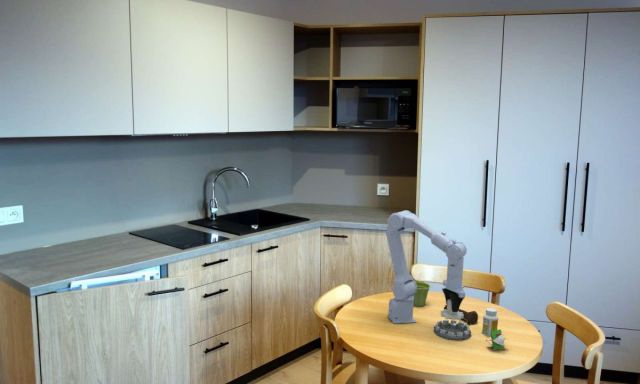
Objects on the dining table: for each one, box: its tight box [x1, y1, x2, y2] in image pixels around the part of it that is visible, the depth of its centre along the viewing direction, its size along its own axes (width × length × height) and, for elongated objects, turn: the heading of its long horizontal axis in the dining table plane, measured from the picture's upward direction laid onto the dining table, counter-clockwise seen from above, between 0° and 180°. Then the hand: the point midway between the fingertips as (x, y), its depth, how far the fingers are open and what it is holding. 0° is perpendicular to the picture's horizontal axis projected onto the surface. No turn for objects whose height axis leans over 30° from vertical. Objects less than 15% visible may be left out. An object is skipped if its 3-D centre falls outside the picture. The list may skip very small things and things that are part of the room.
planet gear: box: [440, 299, 464, 321], centre depth 201 cm, size 8×8×6 cm
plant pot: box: [413, 281, 431, 307], centre depth 232 cm, size 9×9×9 cm
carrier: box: [433, 319, 472, 341], centre depth 203 cm, size 14×14×2 cm
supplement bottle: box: [481, 307, 499, 337], centre depth 202 cm, size 5×5×10 cm
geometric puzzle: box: [485, 329, 505, 351], centre depth 190 cm, size 7×7×8 cm
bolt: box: [443, 304, 479, 326], centre depth 218 cm, size 6×5×15 cm
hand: (452, 309), depth 201 cm, fingers closed on planet gear, 4 cm apart
